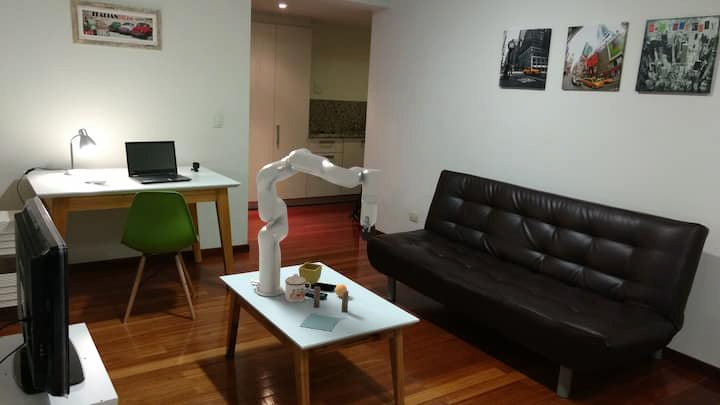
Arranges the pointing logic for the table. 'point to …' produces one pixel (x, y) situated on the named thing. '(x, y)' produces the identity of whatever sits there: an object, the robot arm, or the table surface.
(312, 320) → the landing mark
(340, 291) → the ball
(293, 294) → the teacup with lid
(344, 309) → the right post
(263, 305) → the table surface
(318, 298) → the left post
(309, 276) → the flower pot
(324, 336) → the table surface
